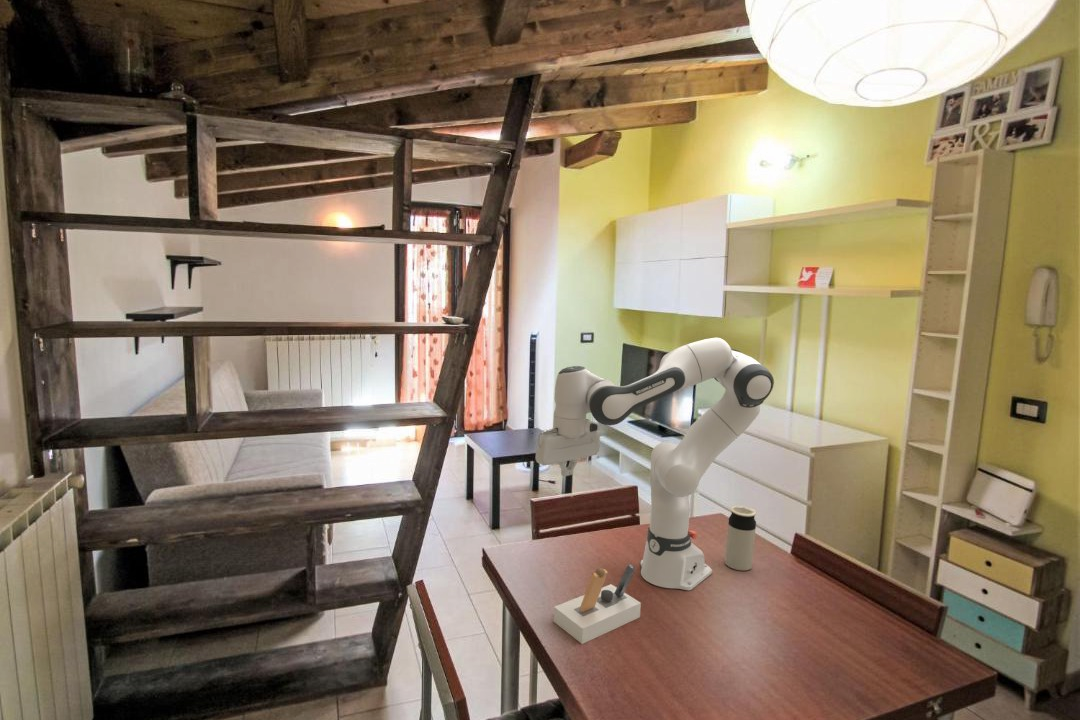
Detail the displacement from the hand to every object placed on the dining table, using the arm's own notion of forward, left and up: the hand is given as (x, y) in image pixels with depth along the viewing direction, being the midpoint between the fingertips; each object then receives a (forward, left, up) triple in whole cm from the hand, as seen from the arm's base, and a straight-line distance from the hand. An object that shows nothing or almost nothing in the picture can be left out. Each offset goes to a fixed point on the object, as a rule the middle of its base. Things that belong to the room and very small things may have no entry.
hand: (567, 475), depth 159 cm
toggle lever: (-5, +17, -29) cm, 34 cm away
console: (+2, +17, -33) cm, 37 cm away
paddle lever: (+6, +17, -29) cm, 34 cm away
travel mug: (-55, +20, -33) cm, 67 cm away
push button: (-1, +17, -29) cm, 34 cm away
